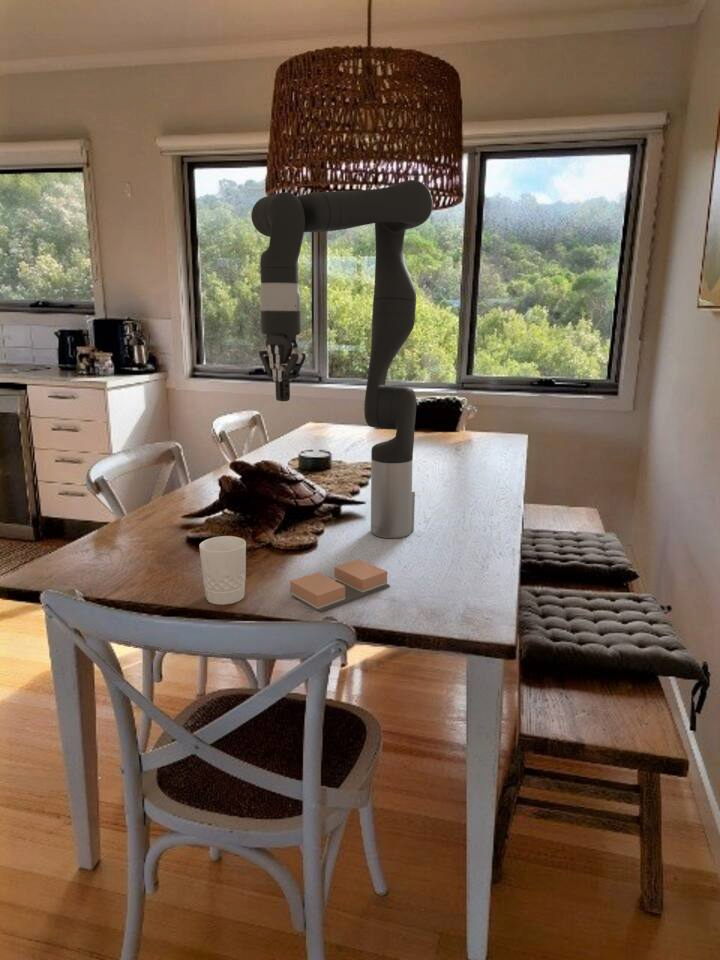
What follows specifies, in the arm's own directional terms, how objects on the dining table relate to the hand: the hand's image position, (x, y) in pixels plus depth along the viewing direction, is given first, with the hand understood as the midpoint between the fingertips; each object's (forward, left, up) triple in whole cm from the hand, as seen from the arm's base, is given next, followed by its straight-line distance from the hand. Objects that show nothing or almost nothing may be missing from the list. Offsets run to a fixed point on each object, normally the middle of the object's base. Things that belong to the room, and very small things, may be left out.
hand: (282, 400), depth 124 cm
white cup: (+20, +10, -32) cm, 39 cm away
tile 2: (-2, +17, -30) cm, 35 cm away
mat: (+3, +22, -32) cm, 39 cm away
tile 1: (+8, +17, -30) cm, 36 cm away
